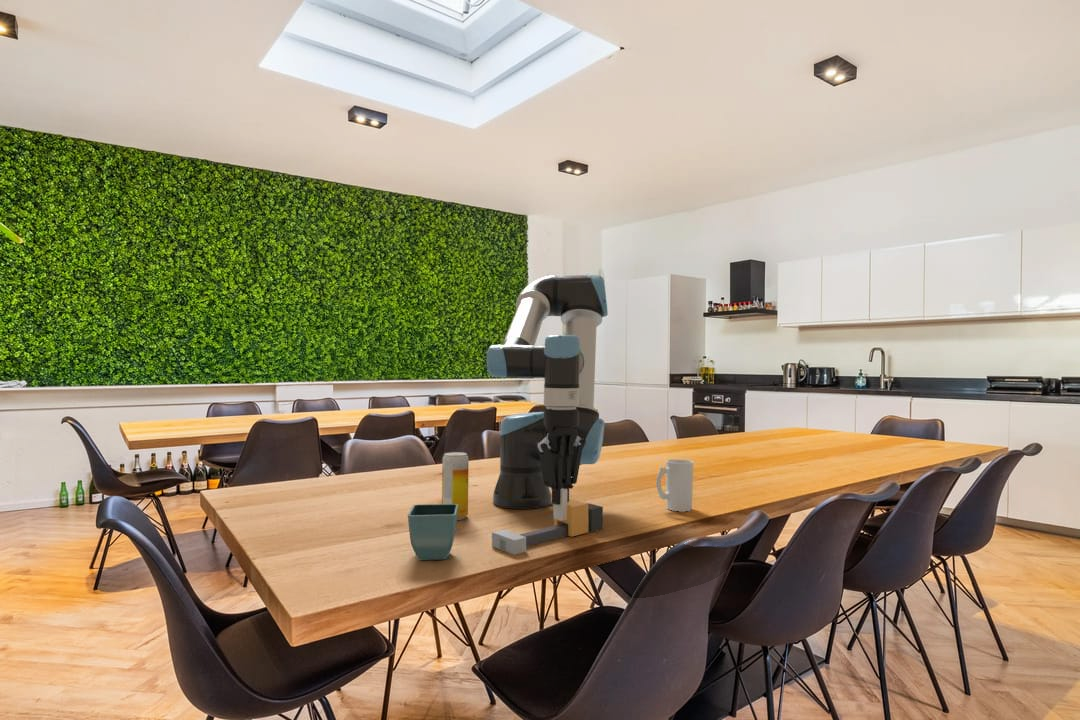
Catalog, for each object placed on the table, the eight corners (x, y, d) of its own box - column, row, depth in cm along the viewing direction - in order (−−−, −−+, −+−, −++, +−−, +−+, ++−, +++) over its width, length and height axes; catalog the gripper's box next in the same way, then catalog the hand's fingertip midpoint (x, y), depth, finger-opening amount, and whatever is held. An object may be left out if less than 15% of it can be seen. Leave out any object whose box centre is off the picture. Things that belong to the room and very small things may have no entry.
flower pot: (412, 549, 120) (413, 503, 120) (458, 548, 121) (458, 503, 121) (406, 564, 111) (407, 515, 111) (455, 563, 112) (456, 514, 112)
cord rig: (514, 554, 117) (514, 528, 117) (491, 546, 122) (492, 521, 122) (605, 530, 134) (606, 507, 134) (583, 523, 140) (583, 501, 140)
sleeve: (571, 536, 128) (571, 507, 128) (554, 531, 132) (554, 502, 132) (588, 532, 132) (588, 503, 132) (570, 526, 136) (570, 499, 136)
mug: (682, 504, 159) (683, 458, 159) (698, 511, 152) (699, 462, 152) (649, 508, 155) (649, 460, 155) (663, 514, 149) (664, 465, 149)
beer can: (472, 516, 145) (473, 452, 145) (458, 522, 140) (459, 456, 140) (451, 513, 148) (451, 451, 148) (436, 518, 142) (437, 454, 142)
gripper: (550, 410, 123) (549, 528, 123) (595, 407, 131) (594, 517, 131) (526, 408, 128) (525, 520, 128) (570, 405, 137) (569, 510, 137)
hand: (560, 518), depth 130 cm, fingers closed
